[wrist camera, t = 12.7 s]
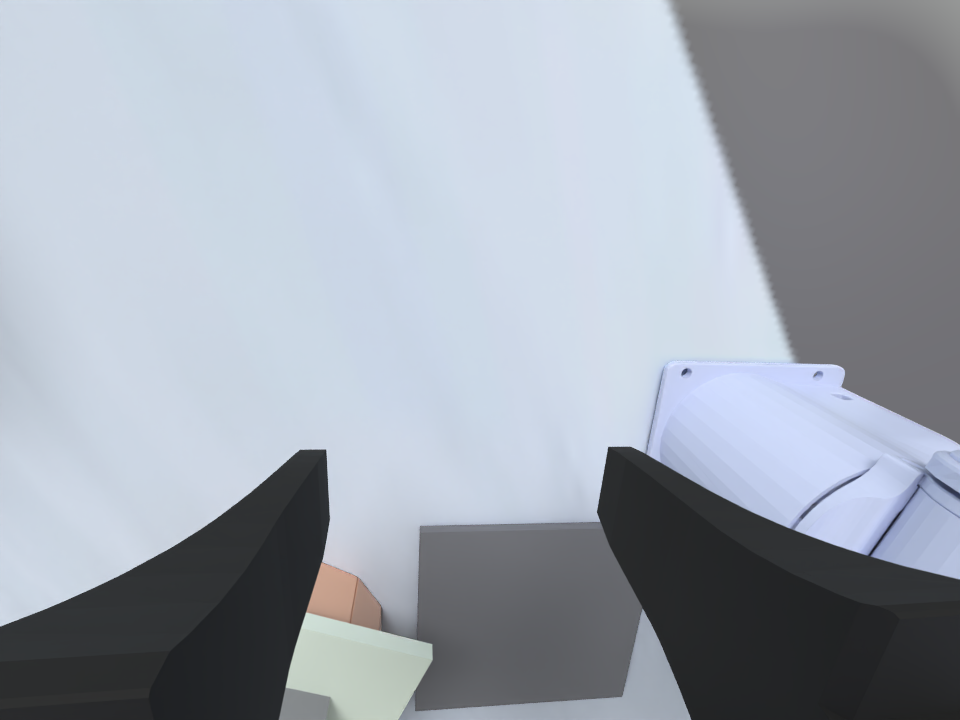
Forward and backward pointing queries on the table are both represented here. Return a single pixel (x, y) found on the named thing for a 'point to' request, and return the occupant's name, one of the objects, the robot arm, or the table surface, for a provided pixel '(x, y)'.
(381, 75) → the table surface
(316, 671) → the sheet lid
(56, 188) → the table surface
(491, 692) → the mat
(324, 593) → the tan bowl
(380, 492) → the table surface
